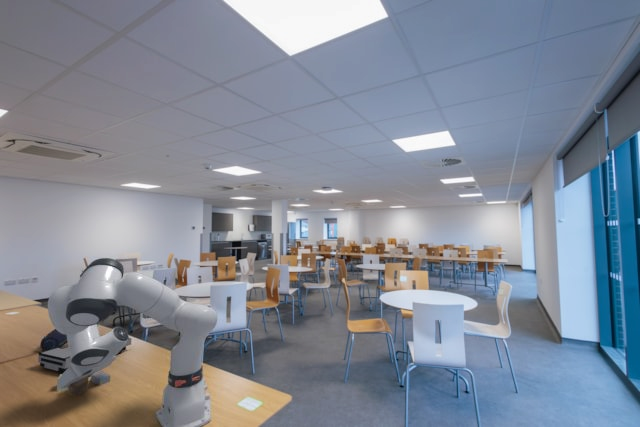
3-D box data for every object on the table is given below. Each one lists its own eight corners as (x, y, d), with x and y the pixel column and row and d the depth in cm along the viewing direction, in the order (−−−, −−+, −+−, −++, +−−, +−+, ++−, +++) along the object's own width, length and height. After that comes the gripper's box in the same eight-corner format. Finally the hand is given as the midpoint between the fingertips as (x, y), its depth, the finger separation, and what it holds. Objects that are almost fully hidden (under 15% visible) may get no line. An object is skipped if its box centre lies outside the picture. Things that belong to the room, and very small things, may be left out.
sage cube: (72, 388, 121) (73, 376, 121) (56, 391, 118) (57, 379, 119) (74, 383, 125) (75, 371, 126) (59, 386, 122) (60, 374, 123)
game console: (130, 351, 161) (131, 336, 162) (64, 377, 131) (65, 358, 132) (105, 346, 168) (106, 332, 169) (37, 369, 138) (38, 352, 139)
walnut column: (87, 389, 120) (88, 370, 120) (76, 395, 115) (77, 375, 116) (79, 388, 120) (80, 369, 121) (67, 394, 116) (69, 374, 117)
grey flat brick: (109, 382, 126) (110, 375, 127) (99, 386, 123) (100, 379, 123) (100, 377, 130) (101, 371, 130) (90, 381, 127) (91, 374, 127)
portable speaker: (56, 340, 177) (57, 323, 178) (76, 337, 181) (77, 321, 182) (36, 355, 154) (38, 336, 155) (59, 352, 158) (61, 334, 159)
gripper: (116, 343, 128) (97, 364, 129) (67, 363, 108) (45, 387, 109) (124, 354, 127) (104, 375, 128) (76, 376, 107) (54, 400, 108)
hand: (77, 381), depth 118 cm, fingers open, 7 cm apart
